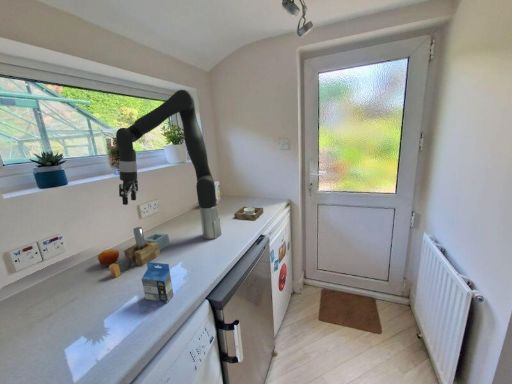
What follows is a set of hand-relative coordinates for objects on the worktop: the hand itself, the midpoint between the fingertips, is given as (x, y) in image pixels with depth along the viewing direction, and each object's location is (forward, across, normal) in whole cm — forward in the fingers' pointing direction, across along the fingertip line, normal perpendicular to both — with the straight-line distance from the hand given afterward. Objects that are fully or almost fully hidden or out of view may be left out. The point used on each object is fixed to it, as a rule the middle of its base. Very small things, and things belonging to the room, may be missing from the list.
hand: (129, 202), depth 115 cm
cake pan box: (+18, +65, -35) cm, 76 cm away
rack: (+22, -3, -14) cm, 26 cm away
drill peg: (+22, -14, -12) cm, 29 cm away
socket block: (+22, -14, -12) cm, 29 cm away
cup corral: (+14, +34, -62) cm, 72 cm away
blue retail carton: (+21, -44, -30) cm, 57 cm away
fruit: (+25, -17, +2) cm, 30 cm away
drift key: (+23, -24, -8) cm, 35 cm away
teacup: (+15, +34, -63) cm, 73 cm away
